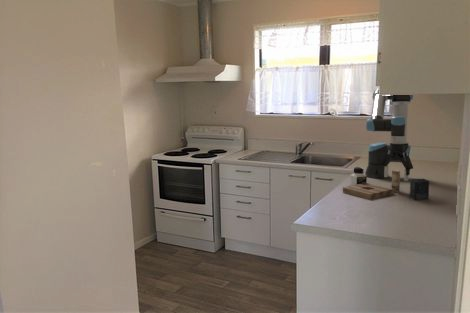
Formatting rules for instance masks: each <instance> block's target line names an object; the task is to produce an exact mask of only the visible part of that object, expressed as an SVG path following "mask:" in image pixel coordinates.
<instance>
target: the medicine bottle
mask: <svg viewBox="0 0 470 313" xmlns="http://www.w3.org/2000/svg"><path fill="white" fill-rule="evenodd" d="M367 180H368V177H367V176H365V168H363V167H360V166H355V167H354V168H353V174H350V186H352V185H357V184H362V183H368V182H367Z"/></svg>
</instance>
